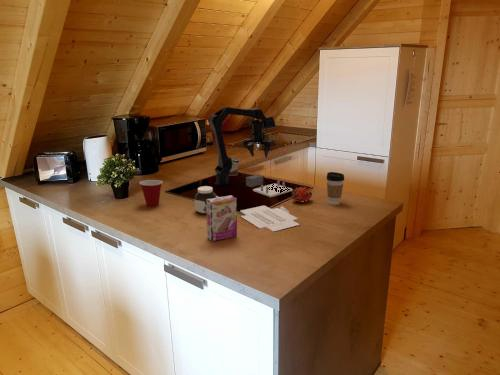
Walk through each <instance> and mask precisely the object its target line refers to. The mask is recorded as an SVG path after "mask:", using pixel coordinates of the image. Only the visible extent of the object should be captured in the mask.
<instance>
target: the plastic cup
mask: <svg viewBox="0 0 500 375" xmlns="http://www.w3.org/2000/svg"><path fill="white" fill-rule="evenodd" d="M163 182H164V181H162V180H158V179H145V180H141V181H139V184H140V187H141V191H142V193H143V199H144V200H145V204H146V206H147V207H149V208H154V207H158V206H159V204H160V199H161V198H160V197H161V189H162V184H163Z"/></svg>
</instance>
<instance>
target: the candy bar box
mask: <svg viewBox="0 0 500 375" xmlns="http://www.w3.org/2000/svg"><path fill="white" fill-rule="evenodd" d="M206 205H207V215H206V233H207V237H206V238H207V239H208V240H209V241H210V242H211V243H214V242H217V241H222V240H223V241H224V240H227V239H230V238H231V239H232V238H236V237H238V219H237V218H238V212H237V211H238V200H237V197H235V196H233V195H231V194H230V195H225V196H218V198H211V199H206Z"/></svg>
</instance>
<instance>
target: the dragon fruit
mask: <svg viewBox="0 0 500 375" xmlns="http://www.w3.org/2000/svg"><path fill="white" fill-rule="evenodd" d="M312 196H313V193H312V191H311V190H310V189H308V188H307V187H306V186H304V187H302V186H299V187H295V188H294V189H293V191H291V199H293V201H294V202H296V203H303V204H304V203H305V202H306V203H308V202H309V201H310V199H311V198H312ZM297 200H298V201H297ZM306 200H307V201H306ZM300 201H305V202H300Z"/></svg>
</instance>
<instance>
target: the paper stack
mask: <svg viewBox="0 0 500 375" xmlns="http://www.w3.org/2000/svg"><path fill="white" fill-rule="evenodd" d="M239 212H240V213H241V214H244V215H240V218H242V219H244V220H246V221H247V222H249V223H251V224H252V225H254V226H255V227H257V228H258V229H263V228H266V229H268V230H269V231H271V232H277V231H281V230H284V229H285V230H286V229H288V228H292V227H295V226H299V225H300V226H301V223H298V222H296V220H299V218H298V217H296V216H295V215H292V214H290V211H289V210H288V209H287V208H285V207H284V206H283V205H281V206H280V207H275V208H270V207H268V206H266V205H260V206H256V207H251V208H246V209H240V211H239Z"/></svg>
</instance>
